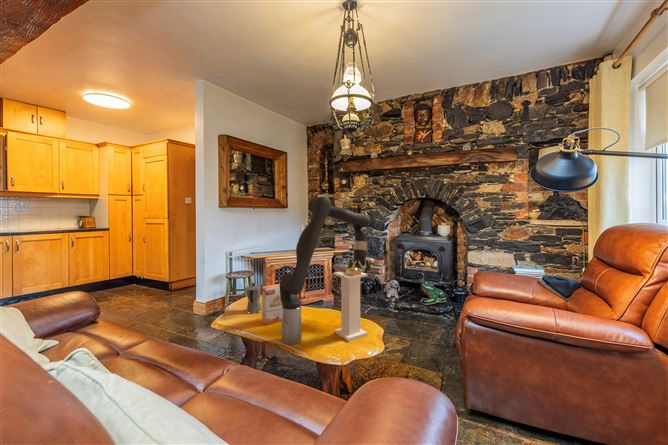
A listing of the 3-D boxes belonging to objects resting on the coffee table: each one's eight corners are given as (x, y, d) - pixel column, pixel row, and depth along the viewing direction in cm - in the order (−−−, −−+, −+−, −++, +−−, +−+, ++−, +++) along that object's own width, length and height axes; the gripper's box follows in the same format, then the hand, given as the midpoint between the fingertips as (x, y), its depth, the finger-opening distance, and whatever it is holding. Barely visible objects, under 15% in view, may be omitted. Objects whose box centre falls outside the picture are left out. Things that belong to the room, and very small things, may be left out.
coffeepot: (248, 307, 188) (247, 280, 187) (263, 307, 189) (262, 280, 188) (243, 317, 173) (242, 287, 172) (259, 316, 174) (258, 287, 173)
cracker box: (266, 325, 161) (265, 289, 159) (262, 322, 165) (261, 286, 164) (288, 319, 169) (288, 284, 167) (284, 316, 174) (283, 282, 172)
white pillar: (348, 341, 141) (348, 277, 139) (334, 332, 151) (334, 272, 149) (367, 335, 148) (367, 274, 146) (353, 327, 158) (352, 269, 156)
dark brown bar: (353, 276, 141) (353, 270, 141) (330, 268, 158) (330, 263, 158) (361, 274, 144) (361, 268, 144) (338, 267, 161) (338, 261, 161)
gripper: (346, 248, 169) (344, 276, 167) (365, 248, 159) (364, 278, 157) (355, 249, 175) (353, 277, 172) (374, 250, 165) (372, 279, 162)
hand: (358, 277), depth 164 cm, fingers open, 8 cm apart
